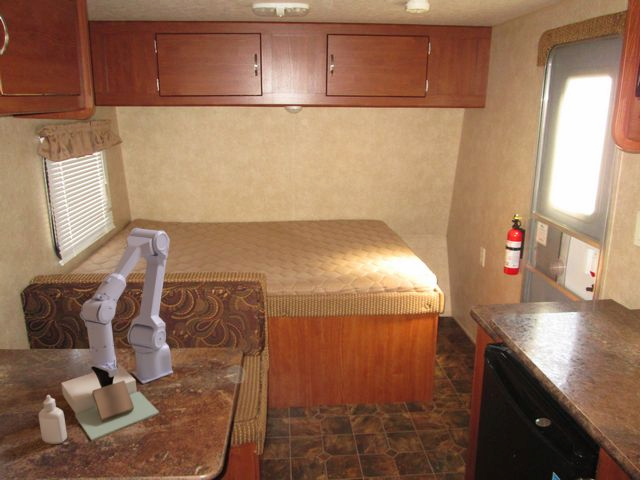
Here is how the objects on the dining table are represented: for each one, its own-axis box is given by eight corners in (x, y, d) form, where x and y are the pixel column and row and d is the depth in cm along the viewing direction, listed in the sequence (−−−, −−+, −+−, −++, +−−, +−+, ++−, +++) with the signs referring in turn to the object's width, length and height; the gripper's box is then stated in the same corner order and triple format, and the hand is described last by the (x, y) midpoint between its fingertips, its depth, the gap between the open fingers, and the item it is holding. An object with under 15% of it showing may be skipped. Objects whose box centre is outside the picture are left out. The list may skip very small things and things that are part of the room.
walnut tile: (123, 383, 136) (124, 380, 135) (133, 410, 133) (134, 407, 132) (92, 393, 132) (92, 390, 130) (101, 421, 128) (101, 418, 127)
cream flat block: (120, 375, 151) (119, 363, 149) (136, 392, 142) (135, 380, 141) (63, 395, 140) (61, 382, 139) (76, 415, 132) (74, 401, 131)
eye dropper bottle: (50, 449, 119) (43, 404, 116) (40, 439, 122) (33, 395, 119) (69, 440, 122) (62, 396, 119) (59, 430, 125) (52, 387, 122)
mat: (139, 392, 142) (139, 391, 142) (159, 413, 132) (159, 411, 132) (75, 416, 131) (74, 415, 131) (91, 441, 122) (91, 439, 121)
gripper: (76, 338, 134) (82, 384, 138) (95, 358, 123) (101, 407, 127) (103, 330, 138) (109, 375, 142) (123, 349, 128) (128, 397, 132)
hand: (107, 389), depth 135 cm, fingers closed
